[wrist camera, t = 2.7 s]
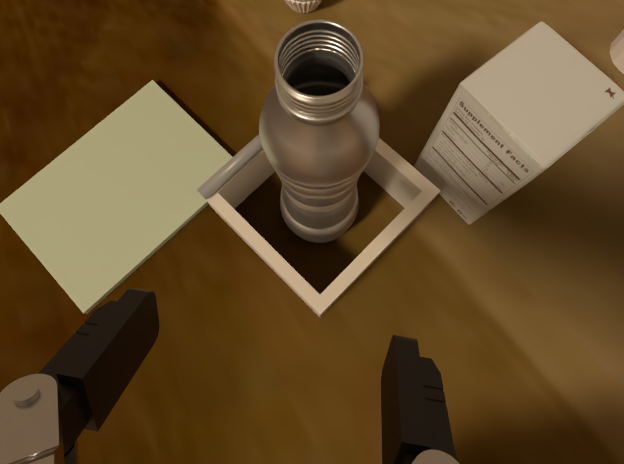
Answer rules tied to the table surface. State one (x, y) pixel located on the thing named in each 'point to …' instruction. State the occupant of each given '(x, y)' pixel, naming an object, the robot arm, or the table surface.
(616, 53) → the shot glass
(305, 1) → the muffin
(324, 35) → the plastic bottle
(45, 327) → the table surface
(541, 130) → the supplement box
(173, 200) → the mat
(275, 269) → the sleeve
